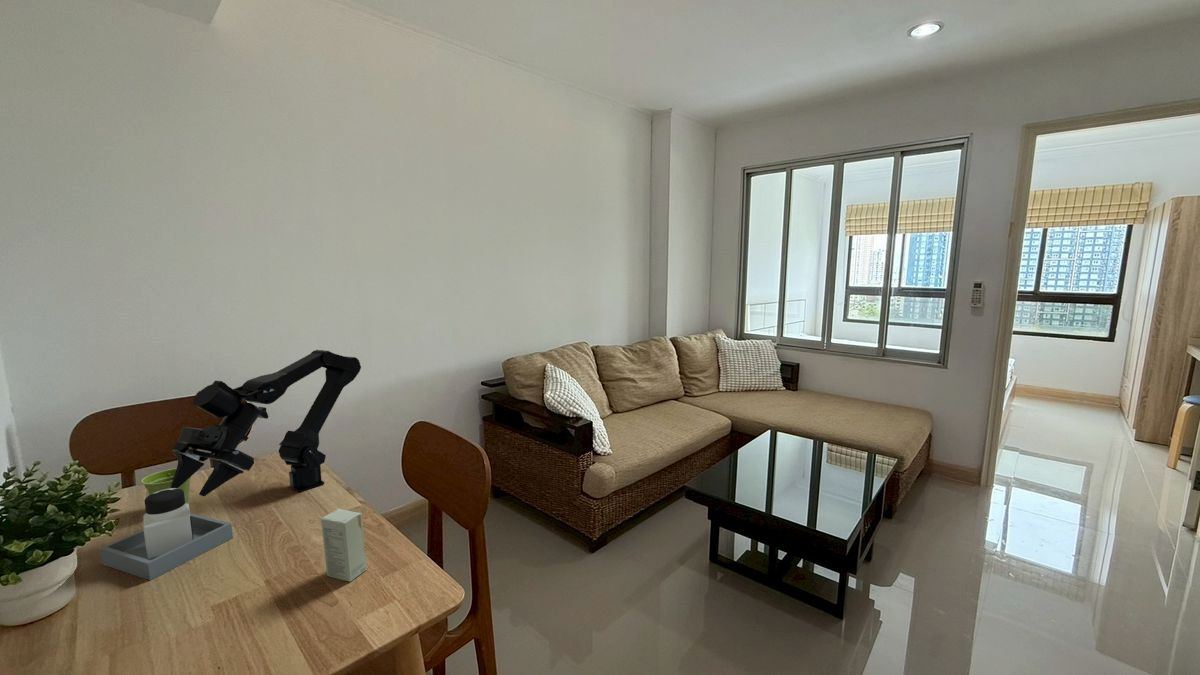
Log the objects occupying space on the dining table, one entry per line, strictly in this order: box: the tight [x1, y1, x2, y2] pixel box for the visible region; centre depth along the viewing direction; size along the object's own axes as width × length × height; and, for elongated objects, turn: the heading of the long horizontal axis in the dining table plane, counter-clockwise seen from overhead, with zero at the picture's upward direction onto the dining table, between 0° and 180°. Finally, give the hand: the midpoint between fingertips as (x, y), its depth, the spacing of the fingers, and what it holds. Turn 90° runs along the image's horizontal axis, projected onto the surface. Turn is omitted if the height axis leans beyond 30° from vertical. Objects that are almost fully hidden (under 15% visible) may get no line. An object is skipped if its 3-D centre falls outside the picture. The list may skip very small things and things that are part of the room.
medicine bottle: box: [142, 488, 194, 559], centre depth 97 cm, size 7×7×12 cm
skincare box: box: [320, 507, 368, 582], centre depth 91 cm, size 6×4×12 cm
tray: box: [99, 512, 234, 581], centre depth 98 cm, size 15×15×4 cm
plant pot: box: [140, 467, 192, 504], centre depth 115 cm, size 9×9×9 cm
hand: (186, 492), depth 100 cm, fingers open, 9 cm apart
